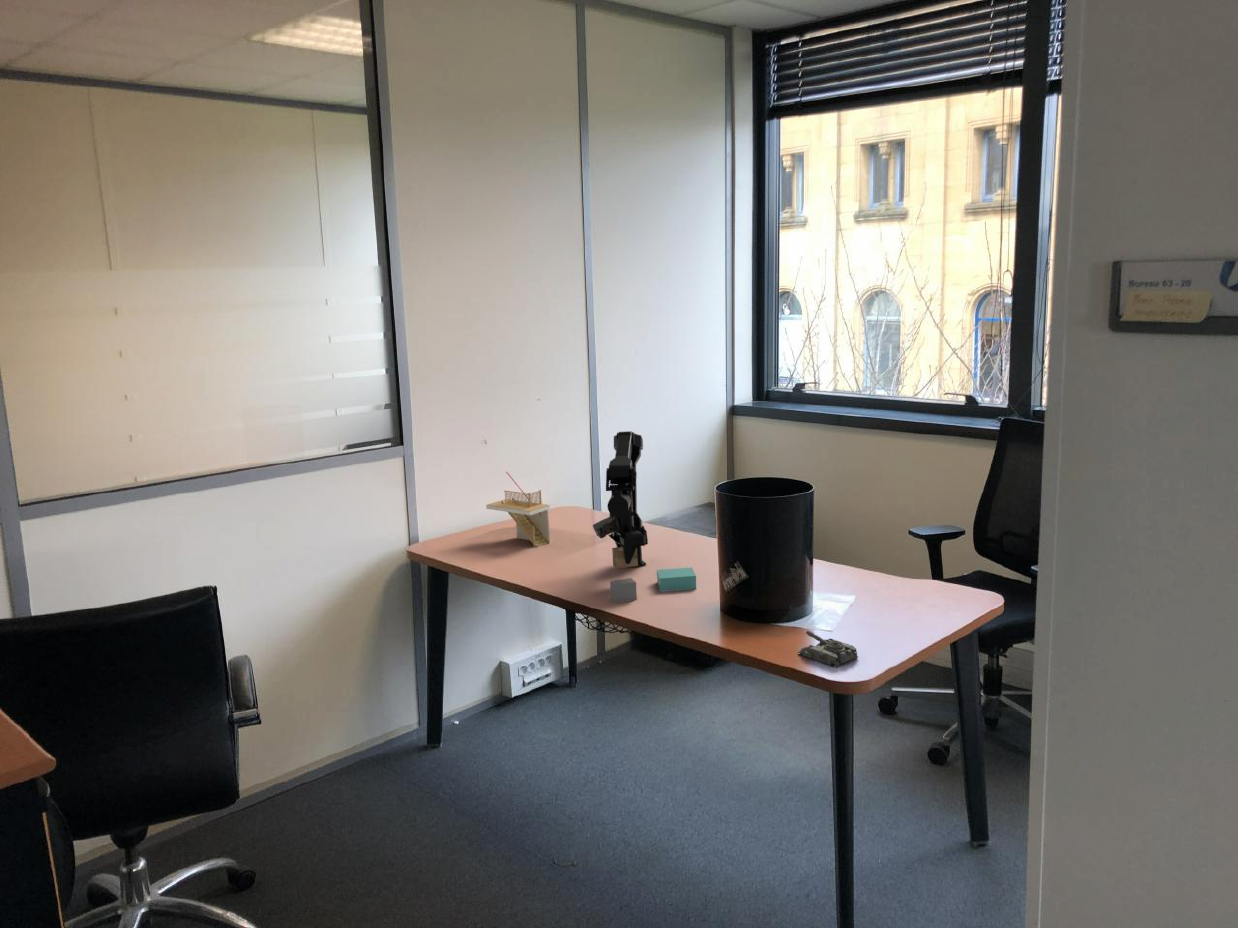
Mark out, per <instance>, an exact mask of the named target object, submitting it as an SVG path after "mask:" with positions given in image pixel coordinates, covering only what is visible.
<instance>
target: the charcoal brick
mask: <svg viewBox="0 0 1238 928" xmlns="http://www.w3.org/2000/svg"><path fill="white" fill-rule="evenodd" d="M609 582H610V583H609V585H610V599H611V600H612V601H613V602H614V603H615V602H616V603H615V604H618V603H623V602H622V601H624V602H629V600H630V601H636V600H638V598H637V597H638V594H637V582H636V580H634V579H633V578H632V577H628V578H621V579H615V580H609ZM617 602H618V603H617Z"/></svg>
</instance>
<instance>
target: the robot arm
mask: <svg viewBox="0 0 1238 928" xmlns="http://www.w3.org/2000/svg"><path fill="white" fill-rule="evenodd" d="M613 449H614V451H615V457H614V458H613V459H611V460H610V461H609V464H608V468H606V472H605V475H606V476H605V491H606V492H611V493H610V494H611V496H610V498H609V500H608V502H607V511H608V513H609V516H608V517H606V518H603V519H601V520H599V521H597V522H595V523H594V524H592V528H593V531H594V533H595V534H596V536H597V537H598V538H600V539H603V538H605V537H607V536H608V537H609V538H610V539H612V540H613V542H615V547H623V552H624V557H625V562H626V564H630V562H631V560H632V557H633V555H634V553H635V550H636V548H637V557H638V566H633V567H632V568H634V567H641V566H646V565H647V563H646V562H645V561H644V560H643V553H642V552H643V551H642V547H645V546H646V545H647V546H648V544H649V540H648V532H647V531H648V530H646V527H645V525H643V520H642V518H641V517H640V515H639V513H638V502H637V501H638V499H637V497H638V496H637V495H638V494H637V493H638V491H637V486H638V485H637V473H638V472H637V464H638V462H639V460H640V458H641V456H642V451H643V450H644V440H643V437H642V435H641V434H637V433H635V432H633V431H619V432H617V433H616V435H614V436H613ZM627 568H630V567H626V568H625V569H627Z"/></svg>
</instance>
